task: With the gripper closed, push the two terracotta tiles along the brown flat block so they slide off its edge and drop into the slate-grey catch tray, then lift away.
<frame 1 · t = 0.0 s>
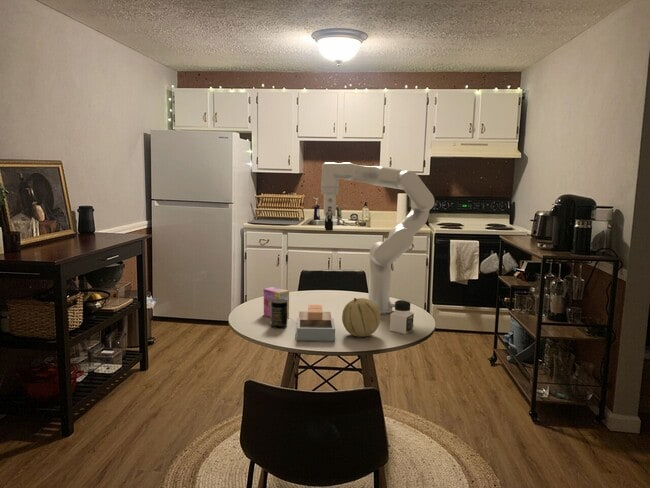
hand: (328, 229, 220), 37 cm above the table, tool pointing down, fingers open, 9 cm apart
medicine bottle: (401, 330, 198), on the table
brown flat block: (314, 325, 201), on the table
tile rear: (315, 313, 204), point 4 cm above the table, touching brown flat block
tray: (315, 335, 188), on the table
cantaloupe: (360, 336, 190), on the table
tile front: (315, 317, 198), point 4 cm above the table, touching brown flat block
supplement container: (278, 326, 199), on the table
box: (276, 316, 212), on the table
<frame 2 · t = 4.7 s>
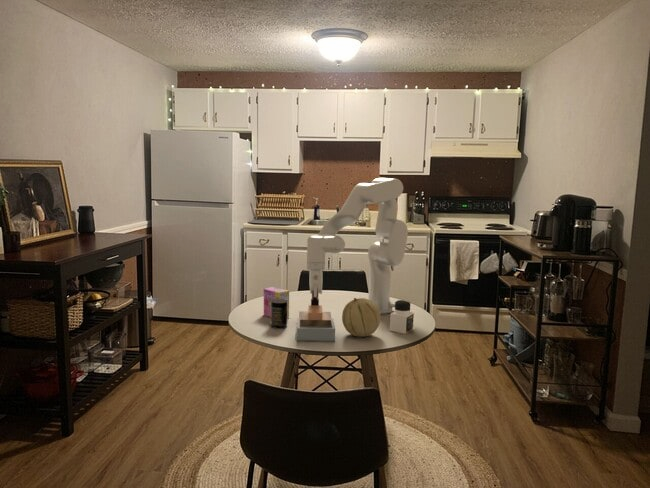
hand: (314, 308, 207), 5 cm above the table, tool pointing down, fingers closed
tile rear: (315, 314, 203), point 4 cm above the table, touching gripper, tile front
tile front: (315, 318, 197), point 4 cm above the table, touching brown flat block, tile rear
everything else where it was.
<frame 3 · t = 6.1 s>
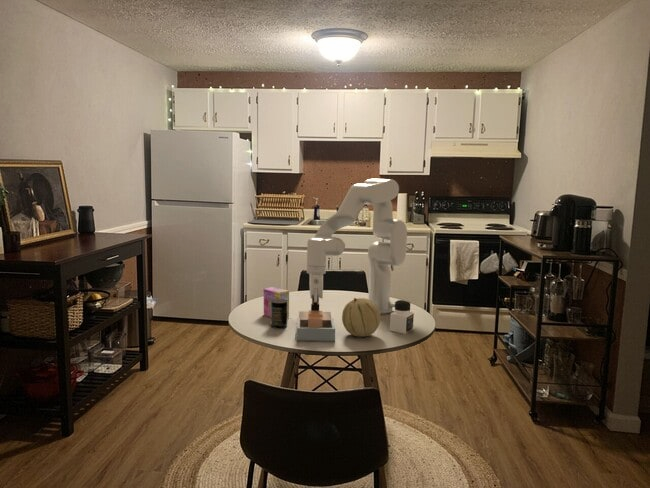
hand: (315, 313, 199), 5 cm above the table, tool pointing down, fingers closed
tile rear: (315, 319, 195), point 4 cm above the table, touching gripper, tile front
tile front: (315, 323, 192), point 3 cm above the table, tilted 92°, touching tile rear, tray
everything else where it was.
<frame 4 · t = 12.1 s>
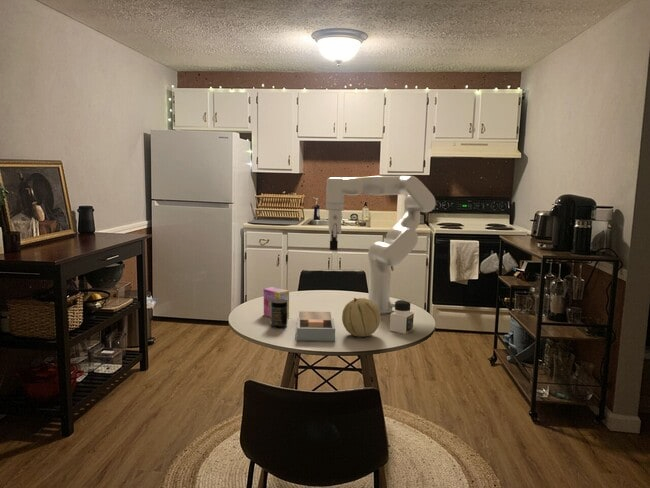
hand: (333, 249, 211), 29 cm above the table, tool pointing down, fingers closed
tile rear: (315, 329, 191), point 1 cm above the table, touching tile front, tray
tile front: (315, 326, 188), point 4 cm above the table, tilted 94°, touching tile rear, tray
everything else where it was.
at the end: tile front inside the target area on the tray (0.5 cm from its centre), point 3.5 cm above the tray's base; tile rear inside the target area on the tray (3.4 cm from its centre), point 1.3 cm above the tray's base; tile rear touching tile front, tray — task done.
